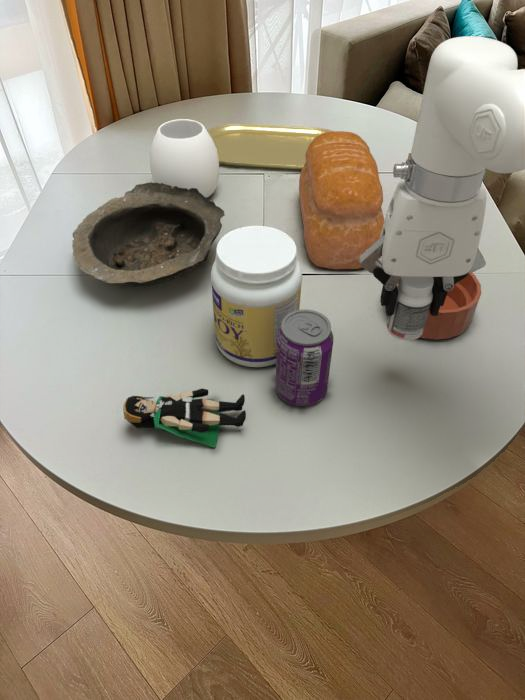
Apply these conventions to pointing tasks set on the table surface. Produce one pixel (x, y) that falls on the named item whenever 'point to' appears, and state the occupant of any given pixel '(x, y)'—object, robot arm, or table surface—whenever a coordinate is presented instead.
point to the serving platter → (263, 145)
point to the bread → (340, 200)
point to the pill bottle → (411, 307)
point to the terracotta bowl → (454, 310)
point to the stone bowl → (147, 235)
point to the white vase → (185, 156)
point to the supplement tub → (253, 292)
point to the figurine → (184, 415)
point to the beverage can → (303, 357)
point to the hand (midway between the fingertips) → (410, 307)
